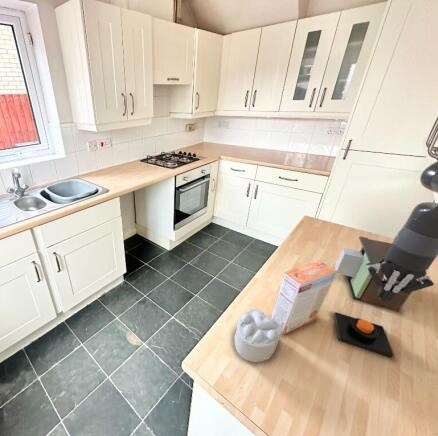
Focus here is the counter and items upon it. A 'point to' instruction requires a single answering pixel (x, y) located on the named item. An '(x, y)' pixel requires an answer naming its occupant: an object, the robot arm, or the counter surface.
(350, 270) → the door
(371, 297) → the cupboard
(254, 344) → the lumpy-topped squat cylinder
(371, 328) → the button
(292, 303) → the cracker box
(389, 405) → the counter surface
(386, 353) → the button box
